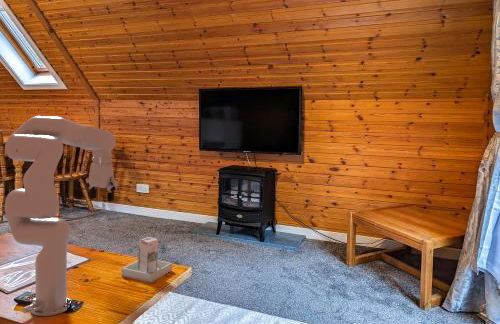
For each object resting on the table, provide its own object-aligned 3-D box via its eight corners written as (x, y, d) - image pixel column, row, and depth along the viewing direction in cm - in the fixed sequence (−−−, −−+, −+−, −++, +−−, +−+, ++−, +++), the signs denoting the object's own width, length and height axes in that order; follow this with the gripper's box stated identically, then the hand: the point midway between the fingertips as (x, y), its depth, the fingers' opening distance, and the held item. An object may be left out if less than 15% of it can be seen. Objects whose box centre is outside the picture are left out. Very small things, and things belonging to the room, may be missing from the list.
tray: (151, 283, 157) (151, 274, 157) (121, 276, 163) (121, 268, 162) (171, 270, 171) (172, 263, 171) (144, 264, 177) (144, 257, 176)
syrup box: (148, 268, 171) (149, 236, 169) (157, 271, 167) (158, 239, 166) (137, 271, 166) (138, 239, 164) (147, 275, 163) (147, 242, 161)
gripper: (80, 159, 166) (79, 198, 168) (111, 163, 160) (111, 203, 161) (93, 158, 173) (92, 196, 175) (124, 161, 167) (123, 200, 168)
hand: (101, 199), depth 168 cm, fingers open, 9 cm apart
